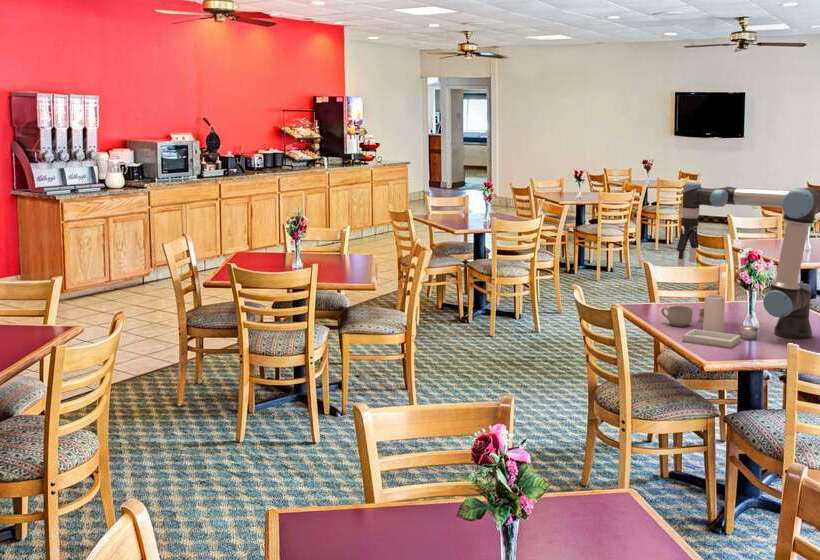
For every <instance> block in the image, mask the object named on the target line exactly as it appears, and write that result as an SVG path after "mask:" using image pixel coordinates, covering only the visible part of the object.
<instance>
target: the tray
mask: <svg viewBox="0 0 820 560" xmlns="http://www.w3.org/2000/svg"><path fill="white" fill-rule="evenodd" d="M741 341H742V339H741V335H740V334H734V333H733V334H732V333H725V332H723V333H720V332H712V331H705V330H703V329H696V328H692V329H691V330H689V331H687V332H686V333H683V334H682V342H683V343H689V344H696V345H705V346H709V347H710V346H711V347H717V348H718V347H719V348H724V349H732V348H734V347H736V345H738V344H740V343H741Z"/></svg>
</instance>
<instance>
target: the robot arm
mask: <svg viewBox="0 0 820 560" xmlns="http://www.w3.org/2000/svg"><path fill="white" fill-rule="evenodd" d="M726 205H733V206H734V205H736V206H751V207H766V208H768V207H769V208H779V209H782V211H783V220H784V222H785V230H784V233H783V240H782V244H781V250H780V255H779V258H778V259H779V260H778V265H777V270H776V275H775V278H774V280H771V282H770V285H769V289H768V292H767V293H766V294H765V295H764V297H763V299H762V300H763V302H762V303H763V307H764V309H765V310H766V312H767V313H768V314H769V315H771V317H776V318H778V320H777V321H776V325H775V326H774V332H773V333H774V335H776V336H778V337H782V338H786V339H798V340H800V339H802V340H803V339H804V340H805V339H811V338H812V335H813V330H812V325H811V323H810V309H811V296H812V286H811V285H810V284H808V283H803V282H798V281H799V275H800V270H801V267H802V261H803V255H804V251H805V247H806V241H807V236H808V231H809V227H811V225H813V224H814V223H815V217H816V215H818V214H819V213H820V189H819V188H817V187H813V186H812V187H811V186H810V187H809V186H808V187H803V188H802V187H799V188H798V187H796V188H795V189H793V190H791V189H790V190H789V189H772V188H771V189H769V188H752V187H751V188H749V187H747V188H746V187H734V186H726V187H719V188H718V187H716V188H706V187H705V188H704V187H702V184H701V183H700V182H693V181H692V182H688V181H687V182H685V183H684V184H683V188H682V205H681V209H680V212H681V216H682V217H681V218H680V225H681V226H682V227H684V228H681V229H680V235H679V238H678V239H679V240H678V243H677V246H676V252H678V256H677V257H678V258H677V266H678V267H685V261H686V258H685V257H686V251H685V250H686V247H687V245H688V243H689V244H690V248H689V255H688V257H689V258H688V262H689V263H694V264H695V263H696V259H697V258H696V257H697V249H699V246H700V245H699V236H698V226H699V217H700V206H709V207H716V208H717V207H719V208H720V207H725V206H726Z"/></svg>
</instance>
